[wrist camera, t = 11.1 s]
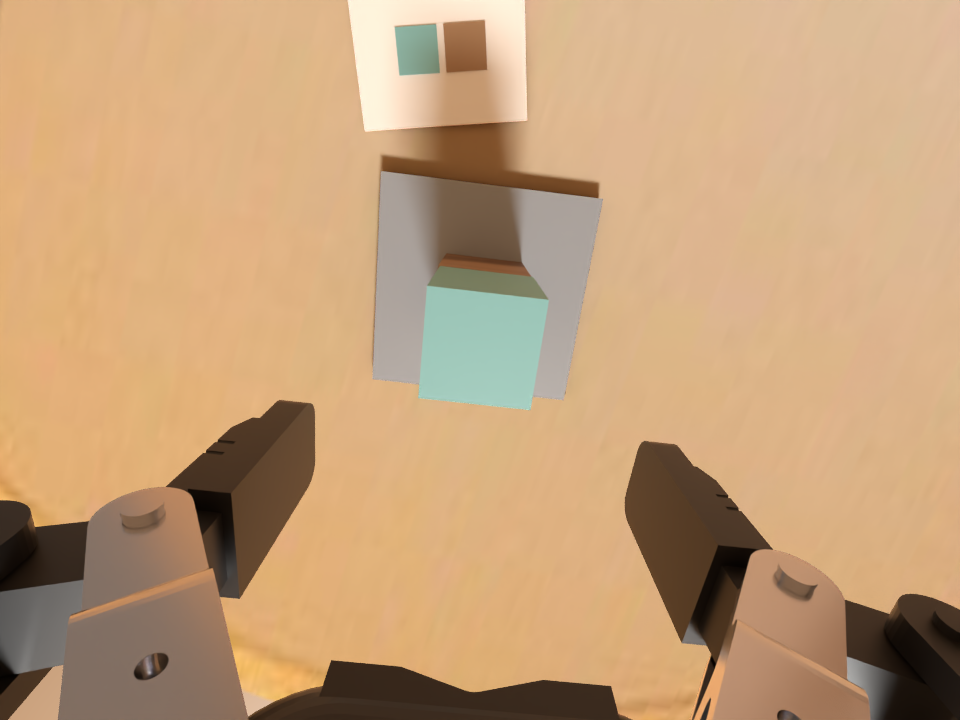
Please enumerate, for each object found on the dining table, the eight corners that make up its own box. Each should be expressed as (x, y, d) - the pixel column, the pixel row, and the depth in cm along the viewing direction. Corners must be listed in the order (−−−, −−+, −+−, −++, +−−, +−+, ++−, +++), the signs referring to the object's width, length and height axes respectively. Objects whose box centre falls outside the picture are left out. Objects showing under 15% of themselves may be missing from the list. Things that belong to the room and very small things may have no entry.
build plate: (383, 171, 29) (381, 170, 28) (599, 198, 29) (602, 198, 28) (375, 375, 33) (372, 379, 32) (561, 395, 34) (563, 400, 33)
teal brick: (440, 265, 24) (427, 285, 18) (533, 276, 24) (549, 299, 18) (432, 354, 25) (418, 398, 20) (519, 364, 26) (530, 410, 20)
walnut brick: (446, 253, 29) (438, 265, 24) (521, 262, 30) (531, 276, 24) (439, 326, 31) (430, 354, 25) (511, 334, 31) (517, 363, 26)
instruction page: (345, -27, 25) (343, -30, 25) (523, -41, 25) (524, -44, 25) (365, 131, 28) (364, 130, 28) (526, 120, 28) (527, 119, 27)
